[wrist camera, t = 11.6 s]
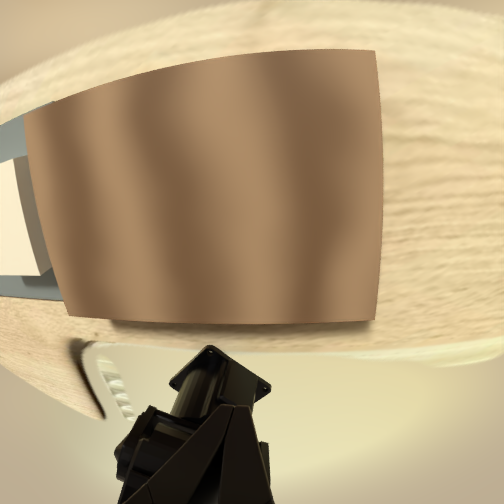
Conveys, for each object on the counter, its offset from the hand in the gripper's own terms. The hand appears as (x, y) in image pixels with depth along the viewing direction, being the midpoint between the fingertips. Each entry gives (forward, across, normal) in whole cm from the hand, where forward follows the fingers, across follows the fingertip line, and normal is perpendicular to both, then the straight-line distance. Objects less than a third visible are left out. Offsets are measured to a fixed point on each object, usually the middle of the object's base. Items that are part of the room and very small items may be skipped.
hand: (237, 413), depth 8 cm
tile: (+11, +20, -4) cm, 23 cm away
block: (+13, +4, -4) cm, 14 cm away
